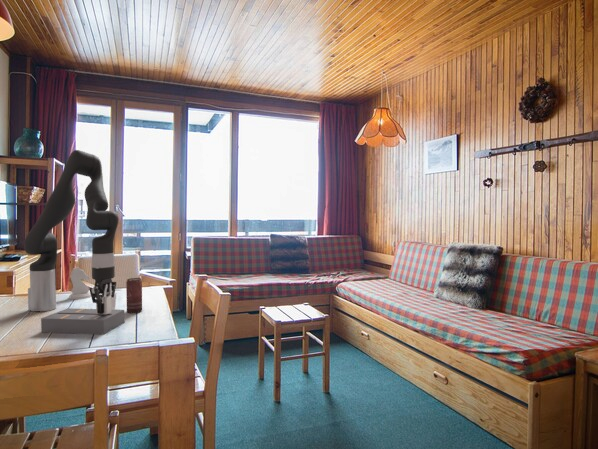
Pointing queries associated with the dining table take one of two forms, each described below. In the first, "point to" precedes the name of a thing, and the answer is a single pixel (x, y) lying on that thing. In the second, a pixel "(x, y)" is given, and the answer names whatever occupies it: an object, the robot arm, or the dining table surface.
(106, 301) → the fader knob
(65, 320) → the slider control panel
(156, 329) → the dining table surface
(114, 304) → the white cylinder
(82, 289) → the chess piece
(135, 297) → the can
